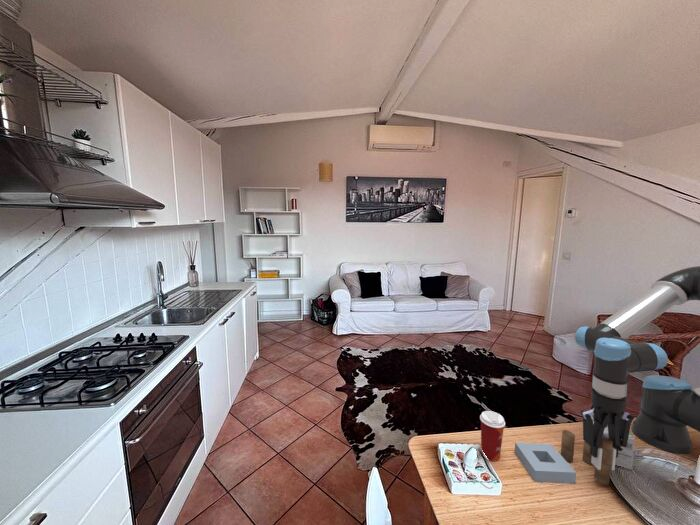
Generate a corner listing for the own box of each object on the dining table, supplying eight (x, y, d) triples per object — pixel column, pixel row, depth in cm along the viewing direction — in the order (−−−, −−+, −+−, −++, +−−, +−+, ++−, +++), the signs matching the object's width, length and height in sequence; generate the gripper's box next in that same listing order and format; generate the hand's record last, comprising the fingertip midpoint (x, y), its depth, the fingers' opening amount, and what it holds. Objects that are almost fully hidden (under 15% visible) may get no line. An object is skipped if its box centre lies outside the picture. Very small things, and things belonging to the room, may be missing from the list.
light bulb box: (624, 456, 99) (627, 426, 98) (633, 471, 93) (636, 439, 92) (585, 446, 103) (587, 418, 102) (591, 460, 97) (594, 430, 96)
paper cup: (506, 465, 95) (508, 425, 93) (481, 462, 96) (483, 422, 95) (499, 448, 102) (501, 410, 101) (475, 445, 104) (477, 408, 102)
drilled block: (550, 453, 100) (551, 444, 100) (575, 483, 88) (576, 472, 88) (514, 451, 101) (515, 442, 100) (534, 481, 89) (535, 470, 88)
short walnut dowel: (590, 458, 98) (592, 441, 97) (598, 466, 95) (600, 449, 94) (580, 457, 98) (581, 441, 98) (587, 465, 95) (589, 448, 94)
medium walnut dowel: (568, 455, 99) (570, 430, 98) (575, 462, 96) (577, 437, 95) (558, 454, 99) (560, 429, 99) (564, 462, 96) (566, 436, 95)
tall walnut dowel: (603, 475, 89) (606, 435, 88) (612, 484, 86) (615, 443, 84) (591, 474, 89) (594, 435, 88) (600, 484, 86) (603, 443, 85)
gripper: (626, 385, 88) (620, 457, 90) (570, 384, 89) (565, 455, 91) (650, 400, 80) (643, 477, 83) (589, 398, 81) (583, 475, 84)
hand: (602, 466), depth 87 cm, fingers closed on tall walnut dowel, 3 cm apart
